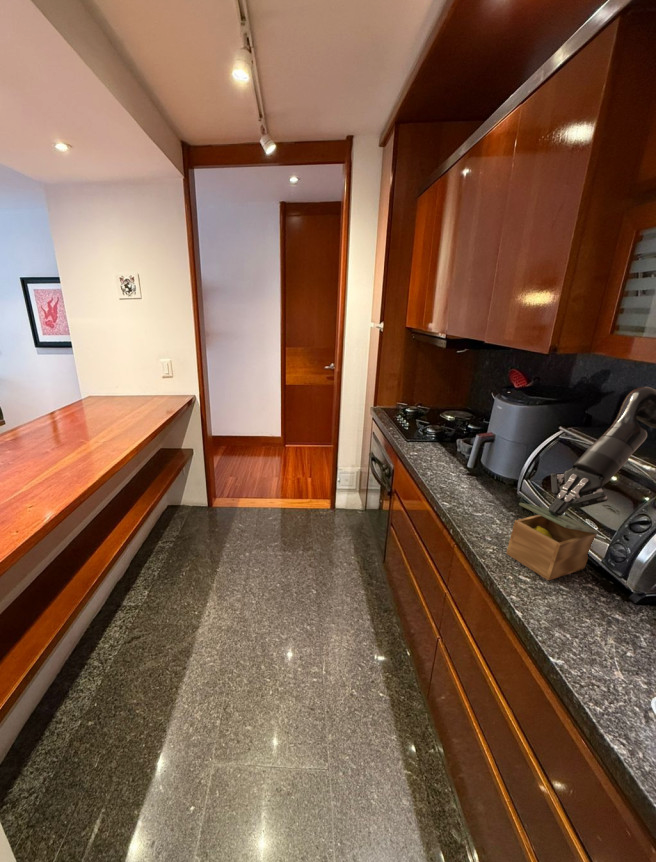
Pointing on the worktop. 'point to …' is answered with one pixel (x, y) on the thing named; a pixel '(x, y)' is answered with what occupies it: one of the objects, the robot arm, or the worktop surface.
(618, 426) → the robot arm
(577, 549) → the box
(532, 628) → the worktop surface
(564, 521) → the caddy lid
